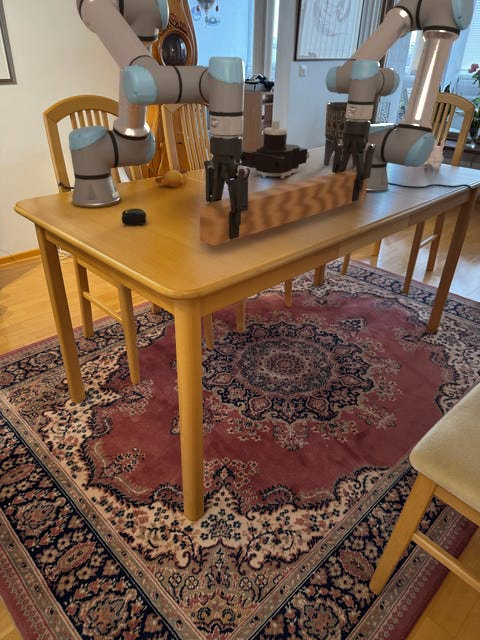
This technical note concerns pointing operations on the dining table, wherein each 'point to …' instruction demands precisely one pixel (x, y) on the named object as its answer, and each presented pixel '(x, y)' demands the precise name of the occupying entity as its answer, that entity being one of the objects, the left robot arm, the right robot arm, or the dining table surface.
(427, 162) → the figurine
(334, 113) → the planter
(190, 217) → the dining table surface
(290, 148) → the mechanical component
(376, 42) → the right robot arm
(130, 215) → the tape measure
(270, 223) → the beam
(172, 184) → the toy
